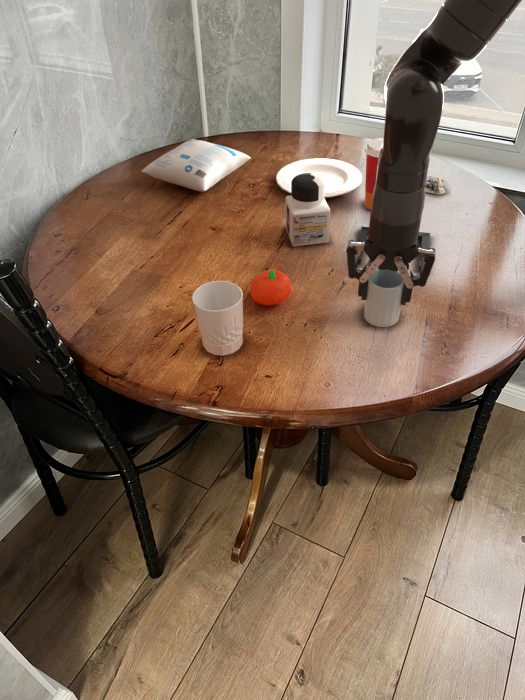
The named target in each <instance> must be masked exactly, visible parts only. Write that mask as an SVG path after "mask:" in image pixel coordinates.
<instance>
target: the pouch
mask: <svg viewBox="0 0 525 700" xmlns="http://www.w3.org/2000/svg"><path fill="white" fill-rule="evenodd" d="M251 158H252V157H251V156H249V155H248V154H246V153H244V152H242V151H239V150H236V149H234V148H230V147H228V146H224V145H220V144H216V143H212V142H210V141H209V142H208V141H205V140H200V139H194V138H192V139H188V140H186V141H185V142H182V143H180V144H179V145H178V146H176V147H175V148H173V149H171V150H170V151H168V152H165V153H164V154H162V155H161V156H159V157H157V158H156V159H154V160H153V161H152V162H150V163H149V164H148V165H146V166H145V167H144V168H143V169H142V170H141V173H144V174H146V175H148V176H150V177H151V178H154V179H157V180H161V181H164V182H167V183H170V184H172V185H177V186H181V187H184V188H186V189H190V190H192V191H197V192H200V193H204V192H207V191H208V190H209V189H211V188H212V187H214V186H215V185H216V184H217V183H219V182H220V181H221V180H223V179H224V178H225V177H227V176H229V175H231V174H232V173H233V172H234V171H236V170H238V169H239V168H240V167H241V166H243V165H244V164H246V163H247V162H248V161H250V159H251Z"/></svg>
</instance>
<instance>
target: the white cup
mask: <svg viewBox="0 0 525 700" xmlns="http://www.w3.org/2000/svg"><path fill="white" fill-rule="evenodd" d="M243 296H244V295H243V290H242V288H241V287H240V286H239V285H238V284H236V283H234V282H232V281H229V280H212V281H208V282H205V283H203V284H200V286H198V287H197V288H196V289H195V290H194V291H193V293H192V295H191V298H192V299H191V300H192V305H193V309H194V314H195V318H196V323H197V327H198V332H199V334H200V336H201V342H202V346H203V348H204V350H205V351H206V352H208V353H209V354H212V355H213V356H222V357H223V356H229V355H233V354H234V353H236V352H237V351H239V350H240V349H241V347H242V345H243V343H244V340H243V332H244V297H243Z"/></svg>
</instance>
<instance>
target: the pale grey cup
mask: <svg viewBox="0 0 525 700" xmlns="http://www.w3.org/2000/svg"><path fill="white" fill-rule="evenodd" d="M404 286H405V282H404V280H403V279H402V277H401V275H400V273H399V270H398V272H396V271H391V270H378V268H377V269H376V271H375V272H374V273H373V275H371V276H370V277H369V279H368V283H367V291H366V300H364V308H363V309H364V310H363V317H364V320H365V321H366V322H367V323H368V324H370V325H371V326H375V327H379V328H388V327H393V326H394V325H395V324H396V323H398V321H399V319H400V313H401V309H402V305H401V302H402V297H403V291H404Z"/></svg>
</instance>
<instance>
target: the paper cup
mask: <svg viewBox="0 0 525 700" xmlns="http://www.w3.org/2000/svg"><path fill="white" fill-rule="evenodd" d="M383 139H384V137H379V138H374V139H371V140H370V141H368V143H367V144H366V147H365V148H364V153H365V154H366V155H365V156H366V157H365V158H366V159H365V186H364V189H365V190H364V205H365V208H367V209H368V210H370V211H371V203H372V197H373V191H374V188H375V183H376V176H377V167H378V158H379V153H380V149H381V147H382V145H383Z"/></svg>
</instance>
